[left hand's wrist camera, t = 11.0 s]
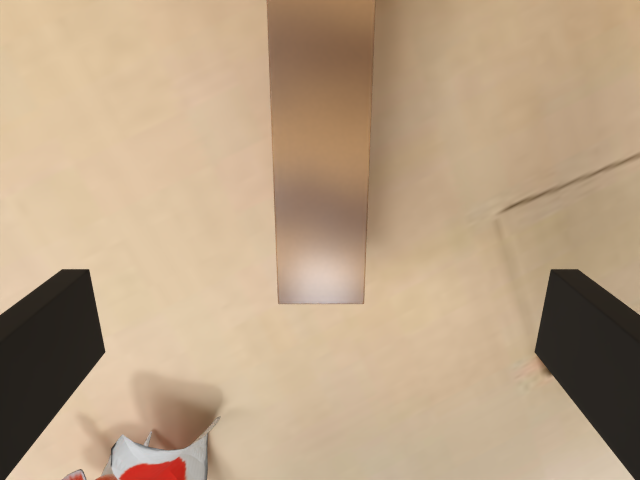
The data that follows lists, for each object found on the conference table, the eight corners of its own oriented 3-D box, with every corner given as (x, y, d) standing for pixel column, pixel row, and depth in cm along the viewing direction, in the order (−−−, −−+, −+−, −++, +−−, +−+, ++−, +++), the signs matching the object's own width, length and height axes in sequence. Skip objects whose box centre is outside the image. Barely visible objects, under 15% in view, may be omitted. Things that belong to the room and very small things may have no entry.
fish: (-2, 453, 34) (-7, 587, 27) (186, 349, 39) (225, 440, 32) (72, 507, 41) (84, 626, 34) (225, 413, 45) (265, 500, 38)
